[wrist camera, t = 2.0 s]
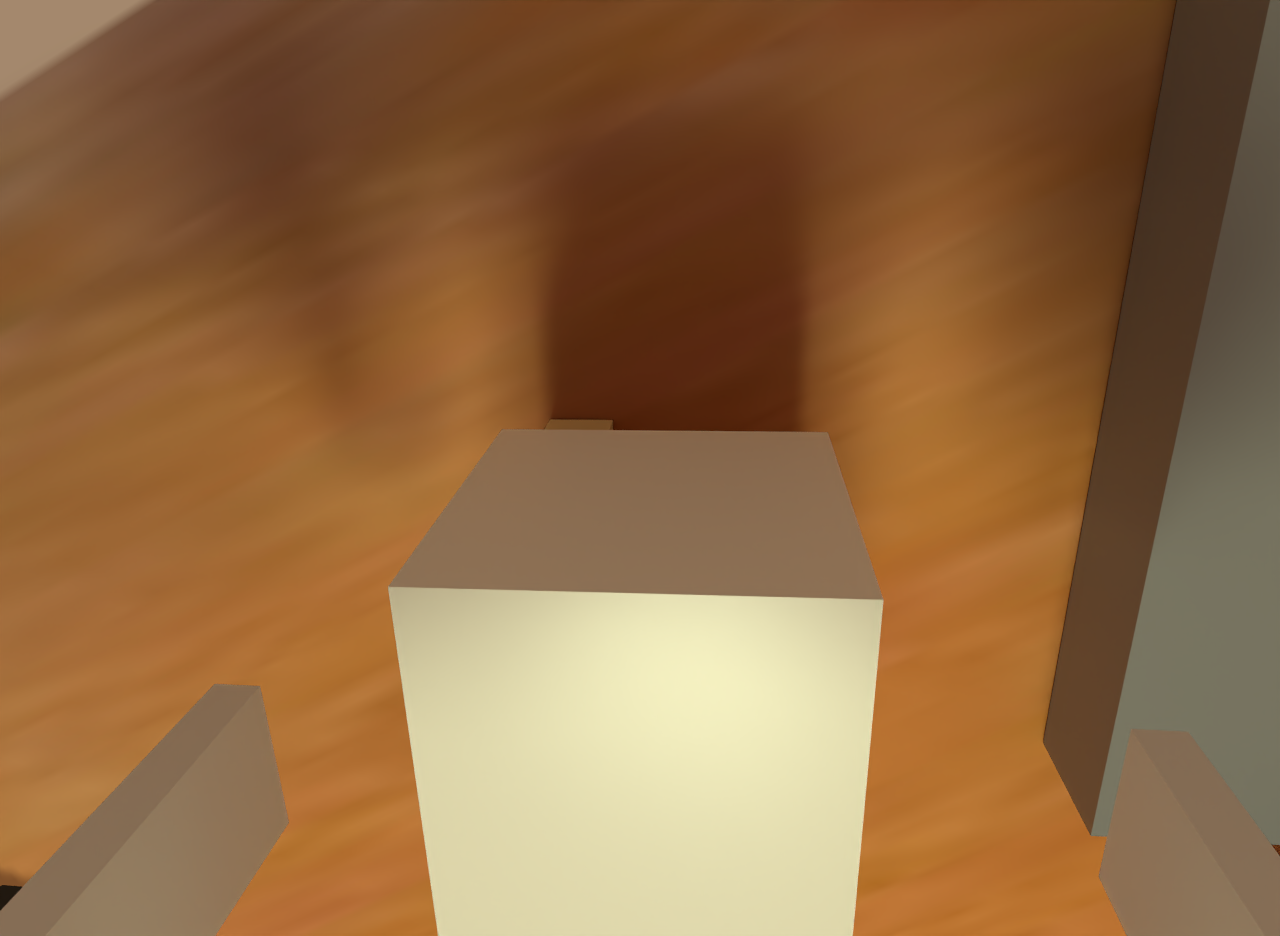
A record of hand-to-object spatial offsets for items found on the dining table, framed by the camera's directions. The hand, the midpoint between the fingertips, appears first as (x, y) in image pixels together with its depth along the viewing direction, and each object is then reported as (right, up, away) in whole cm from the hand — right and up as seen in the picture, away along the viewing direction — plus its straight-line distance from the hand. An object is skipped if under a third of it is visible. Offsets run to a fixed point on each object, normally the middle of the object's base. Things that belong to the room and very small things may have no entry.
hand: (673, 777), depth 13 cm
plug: (0, +3, +7) cm, 7 cm away
